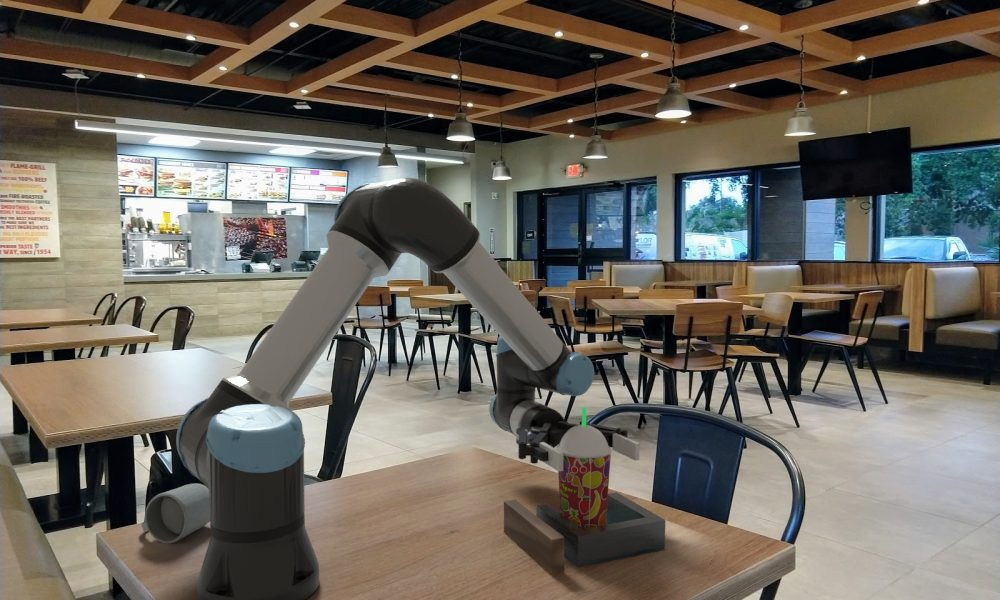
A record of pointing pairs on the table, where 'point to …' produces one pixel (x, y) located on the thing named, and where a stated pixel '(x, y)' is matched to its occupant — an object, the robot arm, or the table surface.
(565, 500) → the smoothie
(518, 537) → the walnut rail
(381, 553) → the table surface
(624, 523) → the keyed cradle
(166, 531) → the ceramic mug
